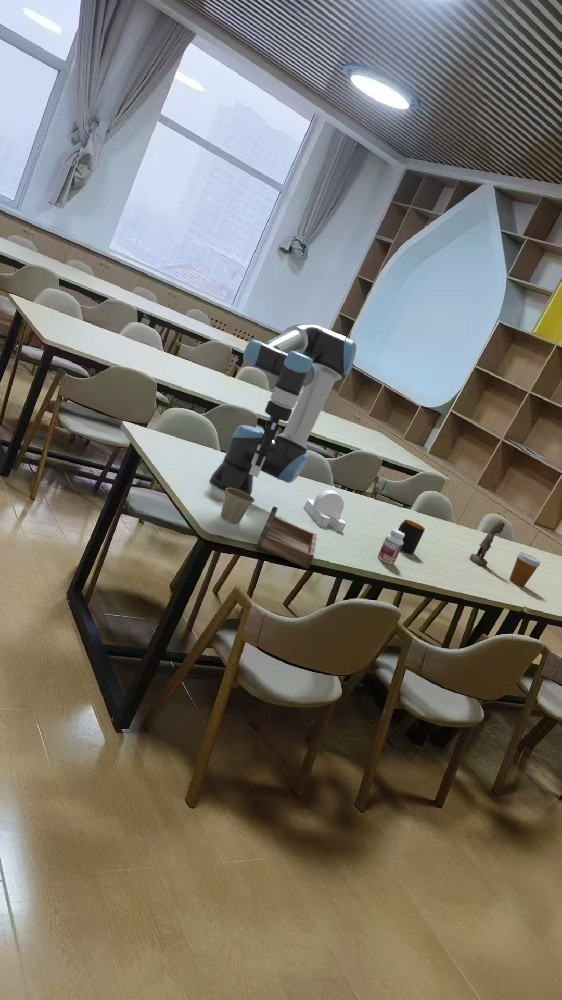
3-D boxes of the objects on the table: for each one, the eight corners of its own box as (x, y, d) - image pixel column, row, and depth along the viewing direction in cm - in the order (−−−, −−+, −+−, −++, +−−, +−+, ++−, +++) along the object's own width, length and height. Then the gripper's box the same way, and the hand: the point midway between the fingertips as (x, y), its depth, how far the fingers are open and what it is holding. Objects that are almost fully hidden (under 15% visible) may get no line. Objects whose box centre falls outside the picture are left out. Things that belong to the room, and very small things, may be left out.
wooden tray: (264, 525, 240) (273, 506, 238) (312, 545, 240) (320, 526, 238) (255, 546, 215) (265, 525, 214) (308, 569, 215) (317, 547, 214)
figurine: (489, 569, 313) (511, 526, 309) (473, 563, 311) (495, 520, 307) (480, 560, 322) (501, 518, 317) (465, 555, 320) (486, 513, 315)
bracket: (342, 533, 272) (355, 505, 269) (318, 525, 268) (331, 497, 265) (325, 514, 289) (337, 487, 286) (302, 507, 285) (314, 479, 282)
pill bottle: (387, 558, 263) (400, 530, 261) (397, 566, 258) (410, 537, 255) (373, 554, 260) (387, 526, 257) (383, 563, 255) (396, 534, 252)
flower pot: (246, 522, 235) (256, 497, 233) (242, 529, 226) (252, 503, 224) (218, 510, 235) (228, 485, 233) (212, 517, 226) (223, 491, 224)
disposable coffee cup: (502, 575, 312) (515, 549, 310) (522, 582, 314) (535, 557, 311) (510, 583, 303) (524, 557, 300) (531, 591, 305) (545, 565, 302)
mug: (402, 543, 294) (413, 519, 292) (417, 556, 284) (429, 531, 281) (384, 537, 291) (396, 513, 288) (399, 551, 280) (411, 526, 278)
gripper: (269, 394, 232) (244, 457, 237) (268, 405, 208) (240, 474, 213) (292, 403, 233) (266, 466, 238) (293, 415, 209) (264, 484, 213)
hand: (254, 470), depth 225 cm, fingers open, 13 cm apart
